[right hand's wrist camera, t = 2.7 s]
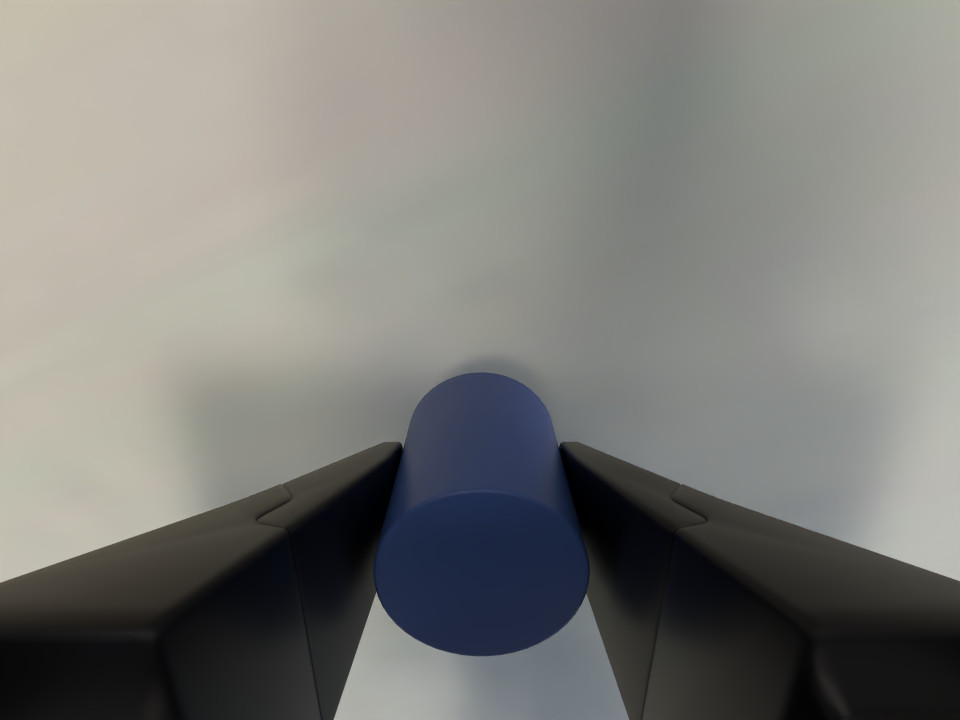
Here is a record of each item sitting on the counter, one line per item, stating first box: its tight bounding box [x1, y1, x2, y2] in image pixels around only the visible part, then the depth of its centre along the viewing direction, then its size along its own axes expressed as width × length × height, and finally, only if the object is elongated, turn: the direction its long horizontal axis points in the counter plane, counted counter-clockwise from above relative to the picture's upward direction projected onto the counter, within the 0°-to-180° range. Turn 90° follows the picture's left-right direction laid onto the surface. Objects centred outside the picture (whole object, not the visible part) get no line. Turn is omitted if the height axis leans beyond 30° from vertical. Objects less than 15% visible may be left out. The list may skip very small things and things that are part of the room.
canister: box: [373, 373, 590, 656], centre depth 10 cm, size 4×4×4 cm
